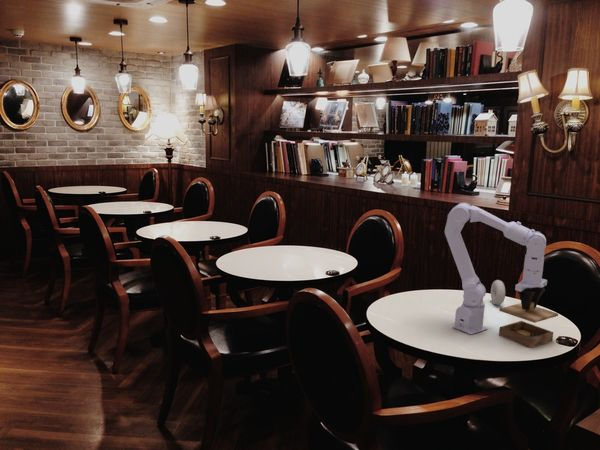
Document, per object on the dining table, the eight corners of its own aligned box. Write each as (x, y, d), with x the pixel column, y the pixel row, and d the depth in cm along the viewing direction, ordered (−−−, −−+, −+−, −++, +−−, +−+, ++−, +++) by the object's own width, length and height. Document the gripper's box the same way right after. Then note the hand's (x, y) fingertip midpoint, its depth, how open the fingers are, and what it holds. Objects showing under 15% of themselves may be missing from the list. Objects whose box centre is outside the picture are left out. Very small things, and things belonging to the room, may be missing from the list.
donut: (505, 309, 207) (507, 284, 205) (496, 308, 207) (498, 283, 206) (497, 300, 217) (499, 277, 215) (488, 300, 217) (490, 276, 215)
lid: (534, 322, 168) (535, 311, 167) (499, 310, 179) (500, 300, 178) (557, 315, 175) (559, 304, 175) (522, 304, 186) (523, 294, 185)
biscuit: (525, 338, 179) (525, 335, 179) (513, 334, 183) (513, 331, 183) (532, 335, 182) (533, 333, 181) (521, 331, 185) (521, 328, 185)
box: (530, 348, 171) (531, 339, 170) (498, 335, 180) (499, 326, 180) (552, 340, 177) (553, 332, 176) (520, 328, 187) (521, 320, 186)
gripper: (530, 275, 167) (526, 316, 170) (557, 269, 175) (552, 308, 177) (511, 269, 173) (507, 309, 175) (537, 264, 181) (533, 302, 183)
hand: (528, 308), depth 177 cm, fingers closed on lid, 3 cm apart
